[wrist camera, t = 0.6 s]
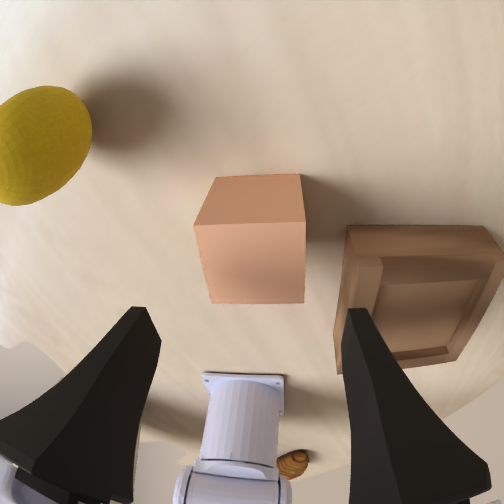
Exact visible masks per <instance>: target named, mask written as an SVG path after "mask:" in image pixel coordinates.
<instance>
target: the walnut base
mask: <svg viewBox="0 0 504 504" xmlns="http://www.w3.org/2000/svg"><path fill="white" fill-rule="evenodd" d="M503 276H504V252H503V251H502V250H501V248H500V247H499V246H498V244H497V243H496V242H495V240H494V239H493V238H492V237H491V235H490V234H489V233H488V232H487V230H486V229H485V228H484V227H483V226H447V225H356V226H347V231H346V242H345V251H344V260H343V269H342V277H341V285H340V292H339V299H338V306H337V313H336V319H335V325H334V332H333V338H334V347H335V357H336V368H337V374H343V372H342V358H341V341H342V336H343V331H344V326H345V321H346V316H347V311H348V308H366V309H367V310H368V312H369V314H370V316H371V318H372V319H373V321H374V323H375V325H376V327H377V329H378V331H379V332H380V334H381V336H382V338H383V339H384V341H385V343H386V344H387V346H388V348H389V349H390V351H391V353H392V354H393V356H394V357H395V359H396V361H397V362H398V364H399V365H400V367H401V368H402V369H406V368H413V367H421V366H428V365H434V364H440V363H446V362H452V361H456V360H457V358H458V357H459V355H460V354H461V352H462V351H463V349H464V347H465V346H466V344H467V343H468V341H469V339H470V338H471V336H472V334H473V333H474V331H475V329H476V328H477V326H478V324H479V323H480V321H481V319H482V317H483V315H484V314H485V312H486V310H487V308H488V306H489V304H490V302H491V300H492V299H493V297H494V295H495V293H496V291H497V288H498V286H499V284H500V282H501V280H502V278H503Z"/></svg>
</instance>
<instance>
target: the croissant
mask: <svg viewBox="0 0 504 504" xmlns="http://www.w3.org/2000/svg"><path fill="white" fill-rule="evenodd" d="M308 462H309V459H308V456H307V454H306V451H304V450H299V451H293V452H290V453H287V454H286V455H283V456H281V457H279V458H278V459H277V460H276V468H279V476H285V477H286V479H287V480H291V479H293V478H296V477H298V476H301V475H302V474H303V473H304V471H305V470H306V468H307V466H308Z"/></svg>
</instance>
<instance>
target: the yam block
mask: <svg viewBox="0 0 504 504" xmlns="http://www.w3.org/2000/svg"><path fill="white" fill-rule="evenodd" d="M193 227H194V232H195V236H196V240H197V245H198V249H199V253H200V258H201V262H202V266H203V270H204V274H205V278H206V283H207V287H208V291H209V295H210V299H211V302H212V304H292V303H304V292H305V252H306V219H305V211H304V203H303V195H302V188H301V180H300V174H274V175H251V176H233V177H217V178H215V180H214V182H213V184H212V186H211V188H210V190H209V193H208V195H207V197H206V199H205V201H204V203H203V205H202V207H201V210H200V212H199V214H198V216H197V218H196V221H195V223H194V225H193Z"/></svg>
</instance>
